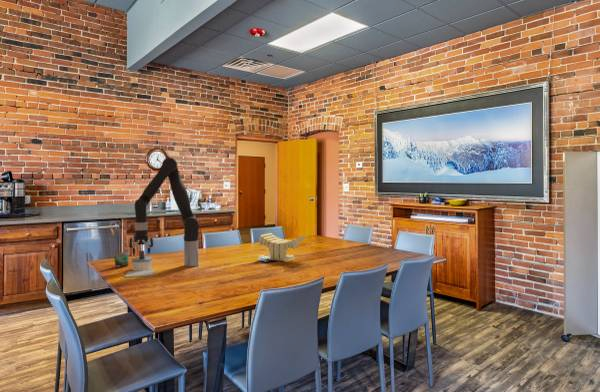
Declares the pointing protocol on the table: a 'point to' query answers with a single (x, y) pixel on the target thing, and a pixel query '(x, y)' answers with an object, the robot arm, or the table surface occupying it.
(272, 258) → the slatted curved stool
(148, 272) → the mat
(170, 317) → the table surface
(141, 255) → the lid
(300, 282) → the table surface
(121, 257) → the food container
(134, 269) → the bowl
